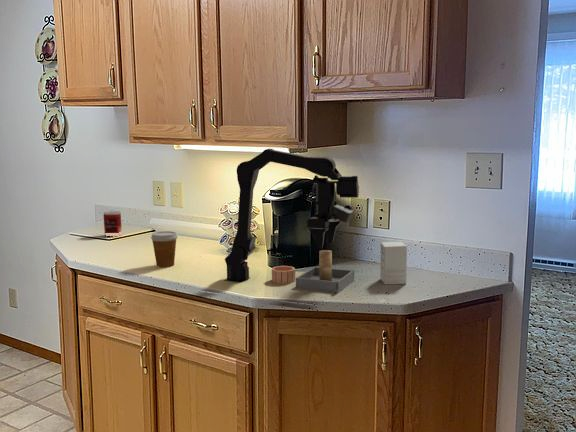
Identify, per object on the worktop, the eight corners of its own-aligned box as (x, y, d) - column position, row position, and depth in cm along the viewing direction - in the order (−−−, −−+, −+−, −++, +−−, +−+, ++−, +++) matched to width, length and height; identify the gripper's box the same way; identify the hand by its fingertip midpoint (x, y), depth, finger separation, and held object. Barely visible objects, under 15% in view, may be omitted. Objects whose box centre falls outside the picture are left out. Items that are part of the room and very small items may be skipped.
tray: (295, 288, 195) (295, 278, 195) (314, 276, 209) (314, 266, 209) (337, 293, 189) (338, 282, 189) (354, 280, 204) (354, 270, 203)
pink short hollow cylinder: (267, 283, 201) (267, 270, 201) (277, 278, 208) (277, 265, 208) (289, 286, 198) (289, 272, 197) (299, 280, 205) (299, 267, 205)
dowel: (317, 282, 198) (317, 252, 197) (322, 279, 202) (321, 249, 200) (329, 283, 197) (329, 253, 195) (333, 280, 200) (333, 250, 199)
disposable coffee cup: (147, 265, 228) (145, 233, 226) (168, 261, 235) (167, 230, 233) (161, 269, 221) (160, 236, 219) (183, 265, 228) (182, 233, 226)
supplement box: (401, 278, 206) (402, 241, 204) (406, 284, 199) (407, 245, 197) (379, 278, 206) (380, 241, 204) (383, 284, 199) (384, 246, 197)
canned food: (117, 233, 292) (116, 210, 291) (124, 235, 286) (123, 212, 285) (101, 235, 287) (100, 212, 286) (109, 238, 281) (107, 214, 280)
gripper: (340, 202, 183) (340, 253, 186) (359, 194, 200) (359, 242, 203) (305, 200, 188) (305, 251, 190) (326, 193, 205) (327, 239, 207)
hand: (325, 245), depth 197 cm, fingers open, 9 cm apart
